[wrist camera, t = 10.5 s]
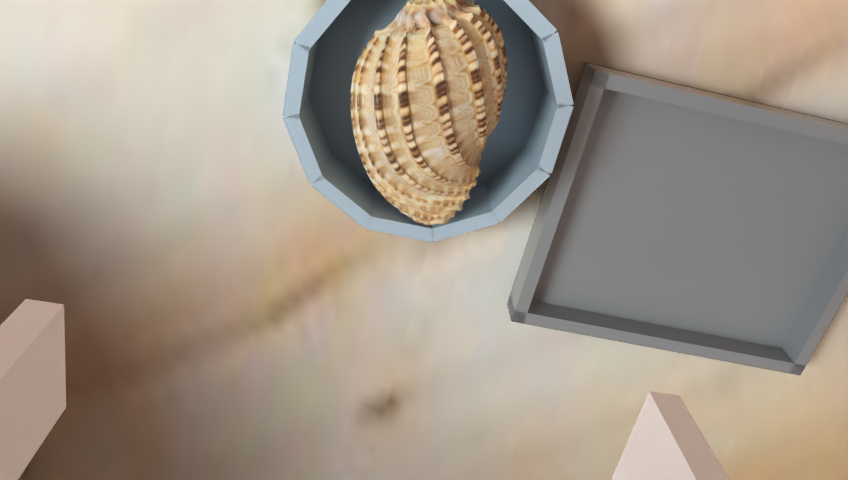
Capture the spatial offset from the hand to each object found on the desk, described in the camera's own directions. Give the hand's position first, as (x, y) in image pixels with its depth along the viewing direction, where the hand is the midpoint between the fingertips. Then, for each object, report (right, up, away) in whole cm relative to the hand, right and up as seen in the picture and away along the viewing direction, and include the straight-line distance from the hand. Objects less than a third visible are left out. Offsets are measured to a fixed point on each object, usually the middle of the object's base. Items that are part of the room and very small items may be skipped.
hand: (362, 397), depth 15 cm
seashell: (+2, +10, +17) cm, 20 cm away
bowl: (+2, +11, +18) cm, 21 cm away
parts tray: (+16, +4, +22) cm, 27 cm away
